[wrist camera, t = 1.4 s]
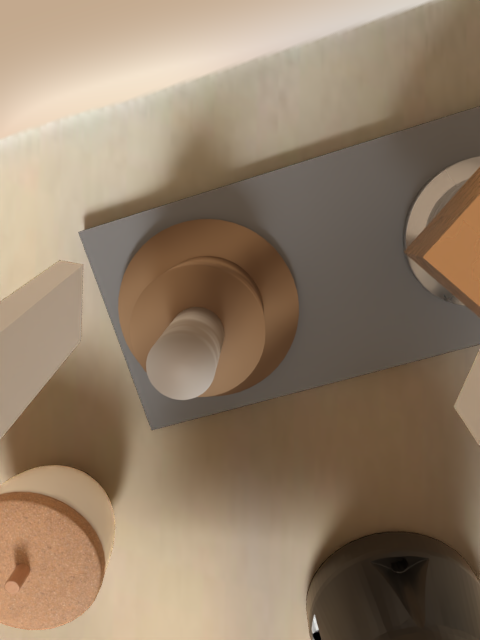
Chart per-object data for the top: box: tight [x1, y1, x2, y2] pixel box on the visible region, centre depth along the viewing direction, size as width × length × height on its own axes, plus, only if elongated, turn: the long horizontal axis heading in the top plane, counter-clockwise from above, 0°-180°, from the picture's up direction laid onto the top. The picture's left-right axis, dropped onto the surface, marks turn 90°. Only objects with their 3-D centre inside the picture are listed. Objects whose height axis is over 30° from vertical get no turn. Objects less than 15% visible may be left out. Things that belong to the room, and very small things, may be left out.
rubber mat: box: [78, 106, 480, 430], centre depth 33 cm, size 34×16×1 cm, turn 107°
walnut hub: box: [118, 219, 299, 400], centre depth 27 cm, size 13×13×13 cm
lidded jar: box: [0, 465, 115, 630], centre depth 34 cm, size 11×11×9 cm
